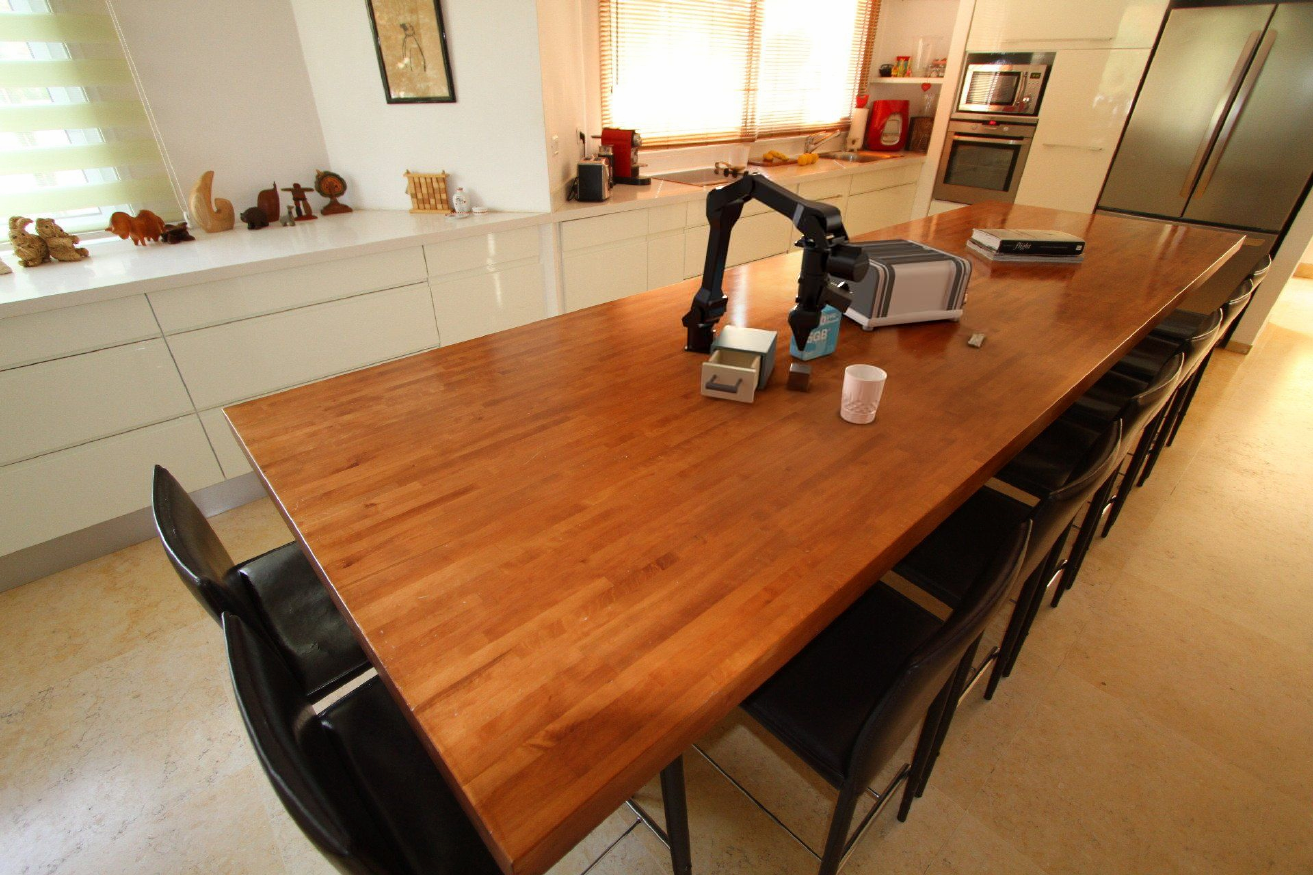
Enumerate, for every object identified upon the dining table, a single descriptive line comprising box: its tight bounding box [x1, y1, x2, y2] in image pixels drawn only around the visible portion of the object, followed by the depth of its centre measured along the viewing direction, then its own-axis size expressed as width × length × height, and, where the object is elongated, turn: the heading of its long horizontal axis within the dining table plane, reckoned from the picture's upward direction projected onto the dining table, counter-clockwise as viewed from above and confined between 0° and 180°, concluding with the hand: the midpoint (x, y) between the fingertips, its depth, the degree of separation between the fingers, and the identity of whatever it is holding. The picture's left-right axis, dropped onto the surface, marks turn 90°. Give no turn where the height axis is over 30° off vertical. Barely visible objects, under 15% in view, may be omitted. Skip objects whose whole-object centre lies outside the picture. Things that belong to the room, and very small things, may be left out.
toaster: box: [829, 238, 973, 331], centre depth 176 cm, size 31×36×18 cm
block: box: [786, 362, 813, 393], centre depth 133 cm, size 4×4×4 cm
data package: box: [789, 305, 843, 362], centre depth 147 cm, size 12×4×12 cm, turn 122°
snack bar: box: [967, 333, 986, 348], centre depth 157 cm, size 10×2×3 cm
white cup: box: [839, 364, 888, 425], centre depth 120 cm, size 8×8×10 cm
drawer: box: [700, 349, 763, 404], centre depth 128 cm, size 18×11×7 cm, turn 160°
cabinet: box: [709, 324, 779, 391], centre depth 137 cm, size 14×12×9 cm
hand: (804, 343), depth 129 cm, fingers open, 9 cm apart
